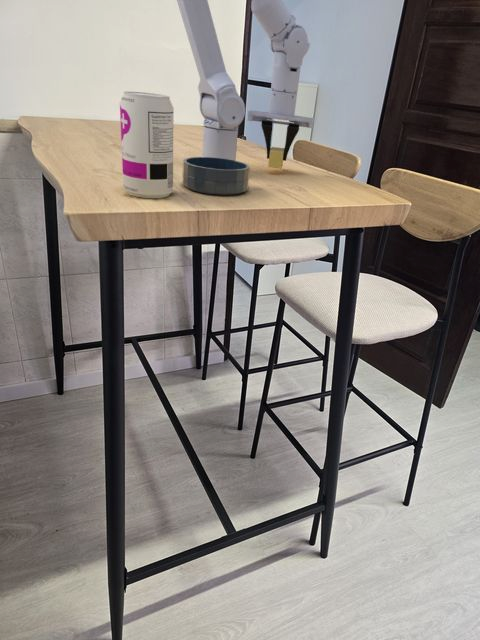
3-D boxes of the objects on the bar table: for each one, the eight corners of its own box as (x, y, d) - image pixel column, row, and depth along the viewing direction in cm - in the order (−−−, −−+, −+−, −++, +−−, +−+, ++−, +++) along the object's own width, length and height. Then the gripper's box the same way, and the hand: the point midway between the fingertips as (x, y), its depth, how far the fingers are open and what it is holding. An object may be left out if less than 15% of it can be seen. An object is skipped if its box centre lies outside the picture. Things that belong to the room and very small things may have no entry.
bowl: (190, 178, 95) (190, 154, 93) (250, 185, 95) (252, 161, 93) (175, 191, 84) (176, 164, 82) (243, 199, 84) (245, 173, 82)
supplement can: (122, 197, 77) (118, 93, 69) (124, 186, 84) (120, 89, 76) (173, 200, 79) (174, 98, 71) (171, 189, 86) (172, 95, 78)
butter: (270, 162, 112) (271, 146, 111) (282, 163, 112) (284, 148, 111) (268, 167, 106) (269, 150, 105) (281, 168, 106) (283, 152, 105)
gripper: (249, 88, 98) (243, 157, 105) (319, 96, 99) (308, 165, 106) (250, 87, 104) (245, 153, 111) (316, 95, 105) (306, 160, 112)
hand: (276, 159), depth 109 cm, fingers closed on butter, 3 cm apart
